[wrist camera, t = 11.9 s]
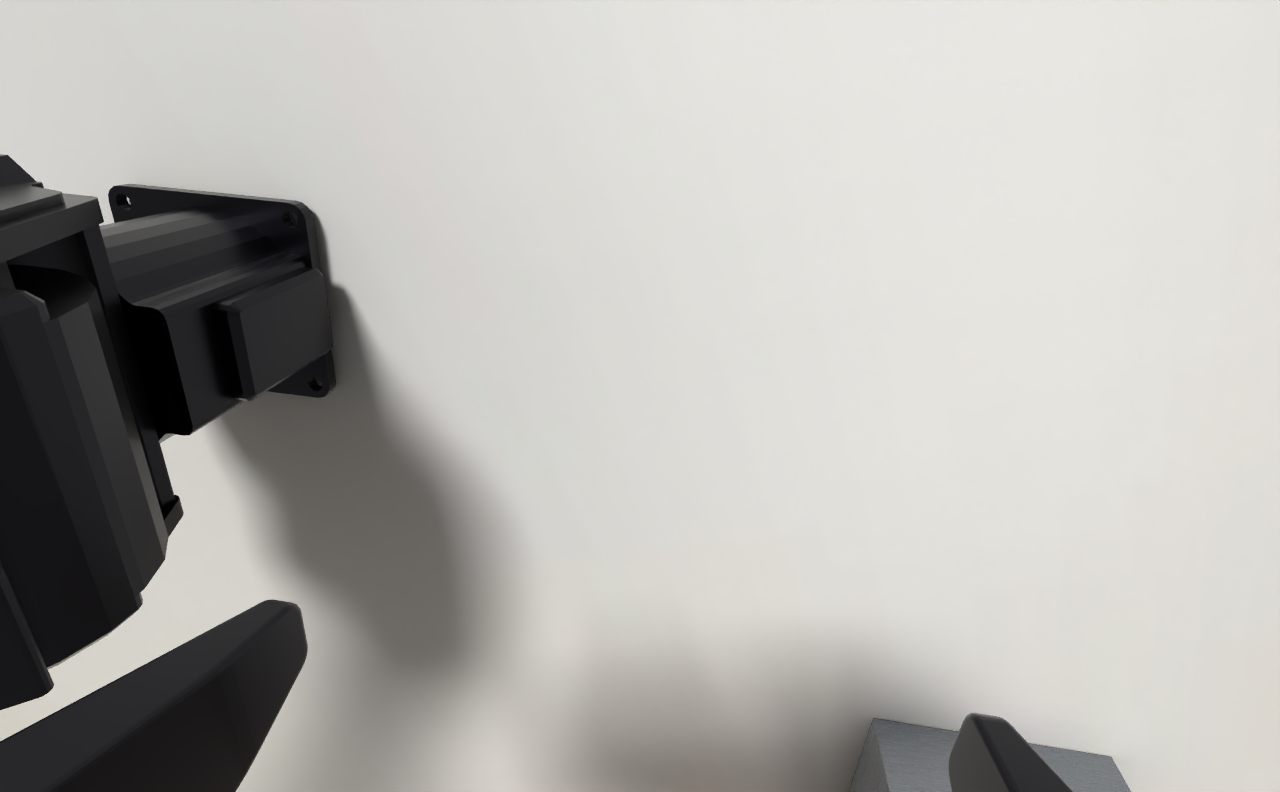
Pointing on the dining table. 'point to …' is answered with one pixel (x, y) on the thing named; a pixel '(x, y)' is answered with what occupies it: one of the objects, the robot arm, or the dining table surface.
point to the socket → (919, 756)
